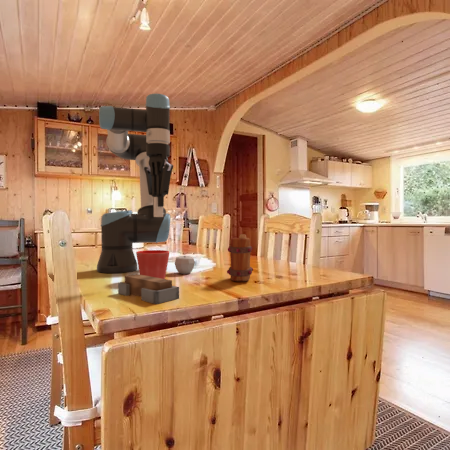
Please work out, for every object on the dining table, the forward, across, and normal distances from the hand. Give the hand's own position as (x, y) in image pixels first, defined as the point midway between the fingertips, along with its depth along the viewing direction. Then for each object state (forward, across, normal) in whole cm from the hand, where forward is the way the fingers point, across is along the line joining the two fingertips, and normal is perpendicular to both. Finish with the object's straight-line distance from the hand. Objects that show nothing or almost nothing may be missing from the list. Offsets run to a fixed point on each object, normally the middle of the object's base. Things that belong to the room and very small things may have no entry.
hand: (158, 216), depth 110 cm
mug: (+21, +18, +21) cm, 35 cm away
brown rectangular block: (+21, +14, -14) cm, 29 cm away
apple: (+22, -5, +15) cm, 27 cm away
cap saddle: (+21, +8, -14) cm, 27 cm away
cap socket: (+21, +20, -14) cm, 32 cm away
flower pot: (+22, -2, -1) cm, 22 cm away
